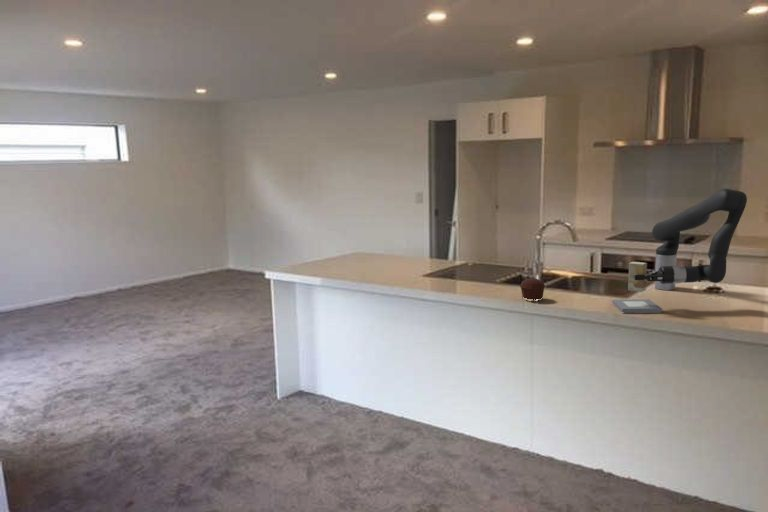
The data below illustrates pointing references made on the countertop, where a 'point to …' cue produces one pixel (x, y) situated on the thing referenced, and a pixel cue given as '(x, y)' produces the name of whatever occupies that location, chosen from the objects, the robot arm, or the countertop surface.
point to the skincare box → (637, 269)
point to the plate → (637, 306)
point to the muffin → (532, 288)
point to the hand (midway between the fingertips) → (632, 275)
